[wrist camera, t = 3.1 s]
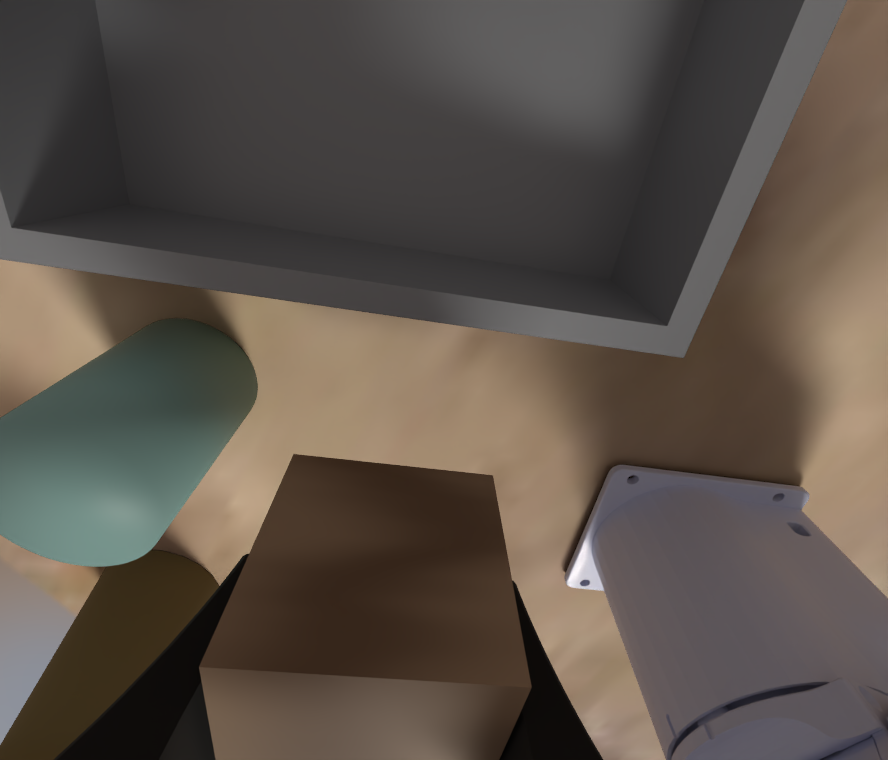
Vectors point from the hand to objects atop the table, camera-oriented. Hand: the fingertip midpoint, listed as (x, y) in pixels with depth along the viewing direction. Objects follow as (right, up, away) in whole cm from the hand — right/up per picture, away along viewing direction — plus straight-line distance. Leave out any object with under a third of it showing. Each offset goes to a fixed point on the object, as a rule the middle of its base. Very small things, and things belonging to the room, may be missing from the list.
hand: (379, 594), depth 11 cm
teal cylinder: (-8, +5, +7) cm, 12 cm away
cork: (-14, -6, +13) cm, 20 cm away
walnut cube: (0, +1, +1) cm, 2 cm away
